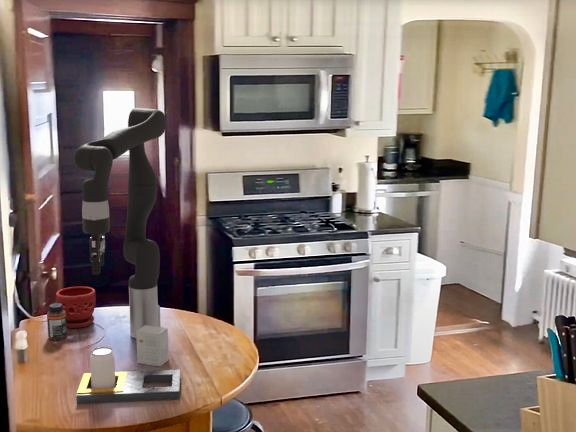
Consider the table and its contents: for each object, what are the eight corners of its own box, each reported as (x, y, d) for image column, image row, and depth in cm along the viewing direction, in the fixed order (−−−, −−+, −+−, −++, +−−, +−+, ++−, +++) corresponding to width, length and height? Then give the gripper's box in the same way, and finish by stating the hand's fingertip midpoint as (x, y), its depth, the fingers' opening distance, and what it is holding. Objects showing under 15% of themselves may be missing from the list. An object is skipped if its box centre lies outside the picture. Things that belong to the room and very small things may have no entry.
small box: (169, 360, 216) (168, 327, 214) (160, 367, 211) (159, 334, 209) (146, 356, 219) (145, 324, 217) (136, 363, 214) (135, 330, 212)
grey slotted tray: (180, 377, 204) (180, 368, 204) (179, 399, 191) (178, 390, 190) (84, 381, 201) (84, 372, 201) (76, 404, 188) (76, 394, 187)
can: (109, 397, 191) (107, 356, 189) (87, 395, 193) (85, 354, 190) (119, 387, 198) (118, 347, 195) (98, 384, 199) (96, 345, 196)
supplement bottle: (50, 334, 236) (48, 302, 233) (68, 333, 236) (67, 301, 234) (46, 341, 230) (44, 308, 228) (64, 340, 230) (63, 307, 228)
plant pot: (104, 323, 247) (102, 290, 244) (70, 333, 237) (69, 299, 234) (83, 314, 255) (81, 282, 252) (50, 323, 245) (48, 290, 243)
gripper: (86, 210, 208) (88, 263, 211) (78, 221, 194) (81, 277, 198) (112, 210, 209) (114, 263, 212) (106, 220, 195) (108, 276, 199)
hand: (98, 270), depth 205 cm, fingers open, 8 cm apart
